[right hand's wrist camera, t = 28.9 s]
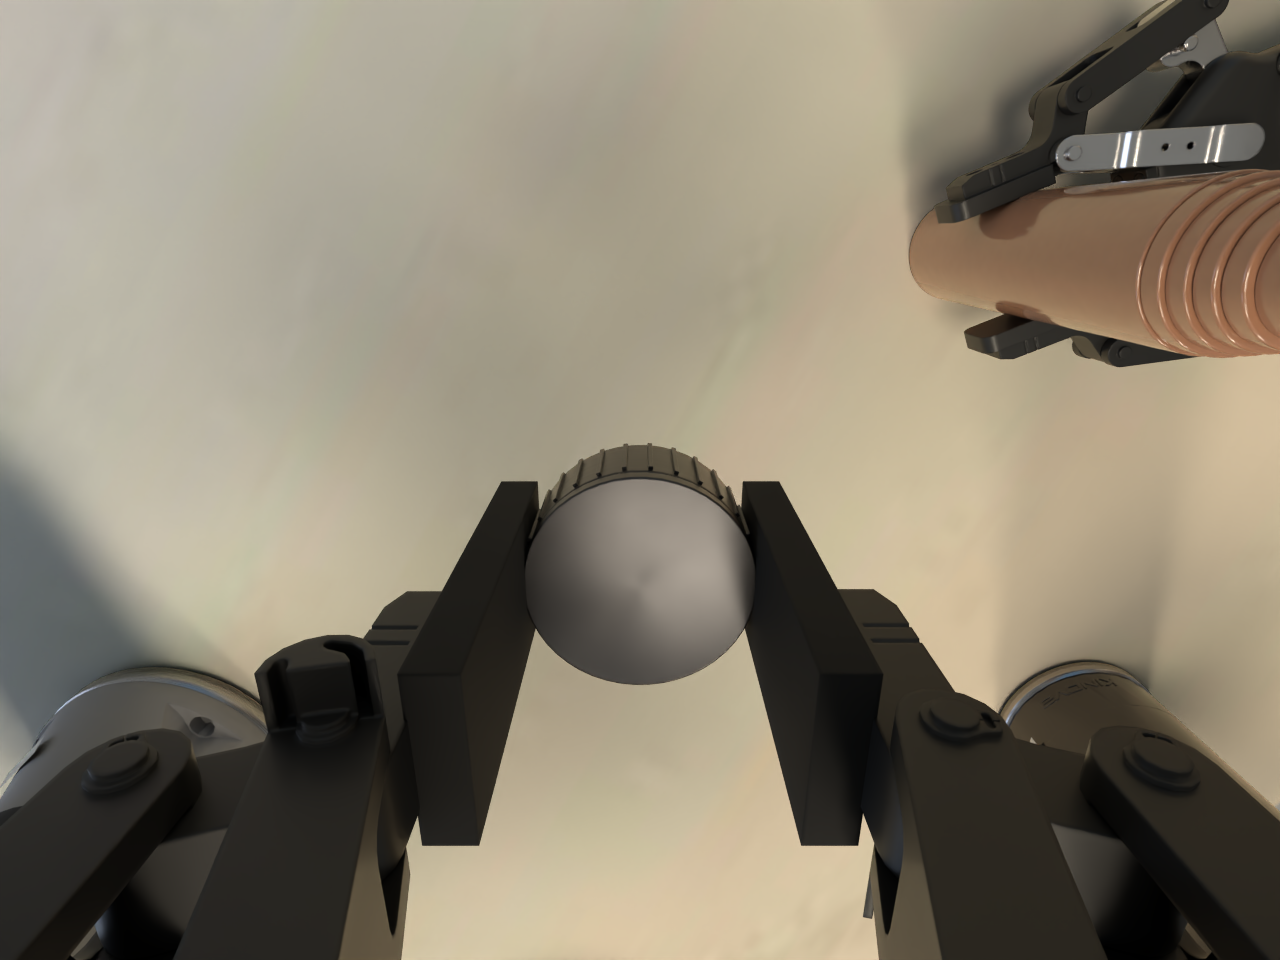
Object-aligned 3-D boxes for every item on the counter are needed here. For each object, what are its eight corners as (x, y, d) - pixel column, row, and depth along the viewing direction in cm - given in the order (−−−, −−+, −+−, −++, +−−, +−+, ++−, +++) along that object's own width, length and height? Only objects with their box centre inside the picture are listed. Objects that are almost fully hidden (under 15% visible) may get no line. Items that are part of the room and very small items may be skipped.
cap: (496, 569, 15) (476, 618, 13) (606, 399, 13) (600, 426, 12) (668, 664, 16) (673, 723, 14) (788, 513, 14) (810, 555, 12)
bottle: (893, 230, 33) (1317, 232, 12) (987, 176, 32) (1604, 85, 12) (930, 317, 34) (1362, 447, 14) (1021, 268, 33) (1620, 330, 13)
